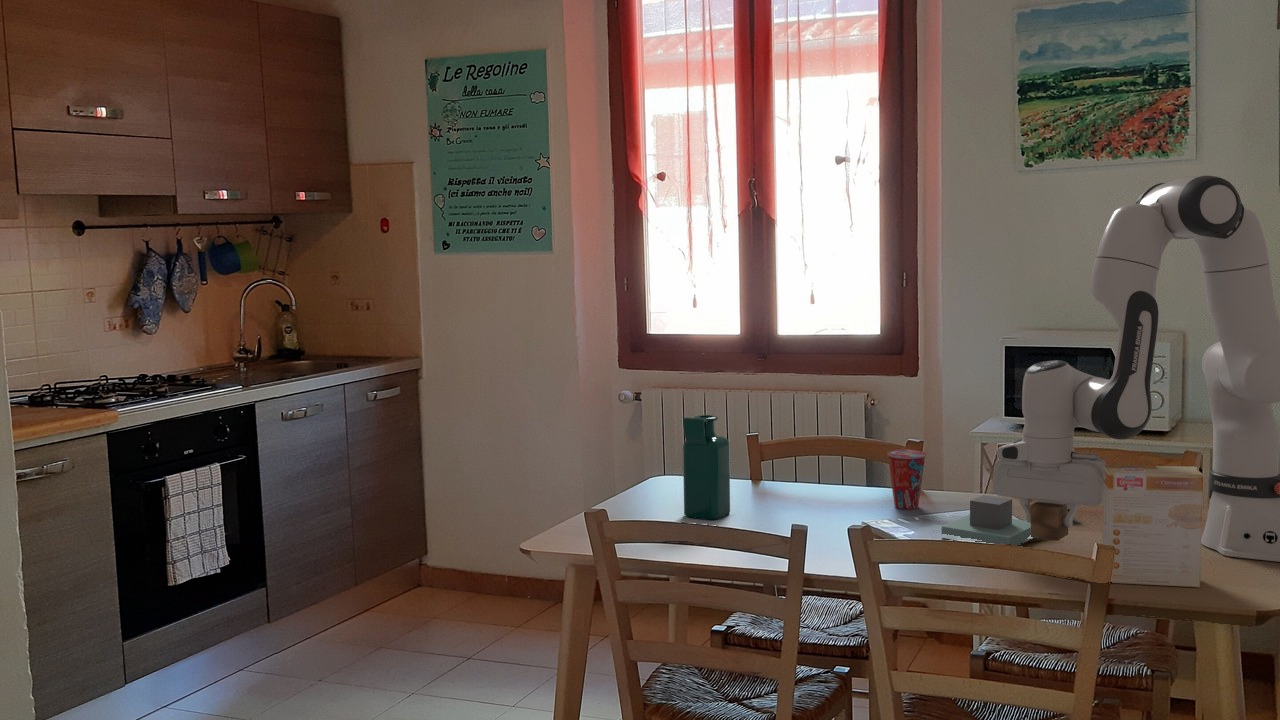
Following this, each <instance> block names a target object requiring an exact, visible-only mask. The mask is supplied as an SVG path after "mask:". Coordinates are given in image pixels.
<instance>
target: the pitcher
mask: <svg viewBox="0 0 1280 720" xmlns="http://www.w3.org/2000/svg"><path fill="white" fill-rule="evenodd" d="M718 420H719V417H718V416H717V415H713V414H700V415H696V416H694V417H684V418H683V431H684V432H683V433H684V439H685V440H684V442H683V444H682V460H683V461H682V465H683V466H682V467H683V469H682V470H683V472H682V473H683V474H682V475H683V514H684V516H685V517H686V518H690V519H699V520H707V521H716V520H719V519H721V518H723V517H725V516H727V515H729V514H730V512H731V484H730V481H731V477H730V473H731V472H730V471H731V469H730V466H731V465H730V443H729V440H728V439H727V438H726V437H724V436H722V435H716V433H715V421H718Z"/></svg>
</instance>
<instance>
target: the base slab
mask: <svg viewBox="0 0 1280 720" xmlns="http://www.w3.org/2000/svg"><path fill="white" fill-rule="evenodd" d="M942 534H947V535H948V534H949V535H954V536H960V537H961V538H971V539H977V540H982V541H975V542H986V543H1003V544H1011V545H1019V546H1021V545H1022V544H1020V543H1023V544H1025V543H1024V541H1025V539H1027V538H1028V537H1029V536H1030V535H1031V523H1029V522H1027V520H1023V519H1017V518H1016V519H1015V518H1012V524H1011V525H1009V526H1006V527H1004V528H1002V529H1000V530H995V529H989V528H983V527H977V526H970V514H968V515H965V516H963V517H960V518H958V519H955V520H953V521H951V522H949V523H947V524H943V525H942V526H941V535H942Z"/></svg>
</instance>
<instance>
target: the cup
mask: <svg viewBox="0 0 1280 720" xmlns="http://www.w3.org/2000/svg"><path fill="white" fill-rule="evenodd" d="M886 455H887V456H888V465H889V473H890V482H891V488H892V496H893V497H892V498H893V504H894V508H895V509H900V510H915V509H918V508H919V504H920V498H921V491H922V483H923V477H924V476H923V474H924V466H925V459H926V456H927V453H926V452H923V451H919V450H913V449H895V450H891V451H887V453H886Z"/></svg>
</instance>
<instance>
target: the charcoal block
mask: <svg viewBox="0 0 1280 720" xmlns="http://www.w3.org/2000/svg"><path fill="white" fill-rule="evenodd" d="M969 515H970V526H977V527H983V528H989V529H995V530H1000V529H1002V528H1004V527H1006V526H1009V525H1011V524H1012V519H1013V498H1009V497H1002V496H993V495H986V494H983V495H980V496H978V497H976V498H972V499H971V500H970V501H969Z"/></svg>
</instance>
